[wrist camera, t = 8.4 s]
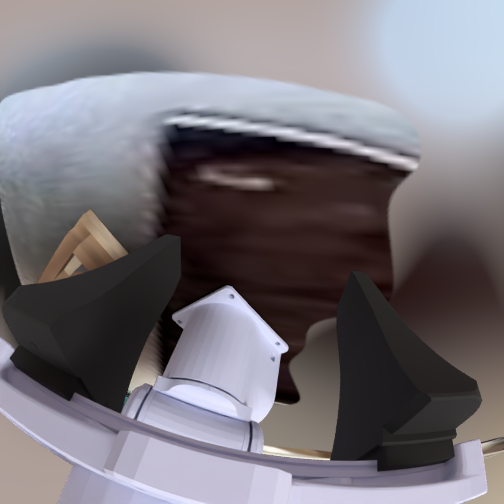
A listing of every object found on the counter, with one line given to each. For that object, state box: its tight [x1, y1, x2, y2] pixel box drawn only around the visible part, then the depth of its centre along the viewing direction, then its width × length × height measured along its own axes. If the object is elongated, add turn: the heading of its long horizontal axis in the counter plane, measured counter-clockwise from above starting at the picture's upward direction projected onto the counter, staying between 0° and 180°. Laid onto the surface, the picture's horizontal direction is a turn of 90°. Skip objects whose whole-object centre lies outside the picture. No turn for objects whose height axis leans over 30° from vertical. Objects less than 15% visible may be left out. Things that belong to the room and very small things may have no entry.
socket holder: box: [37, 209, 129, 284], centre depth 26 cm, size 10×21×7 cm, turn 128°
